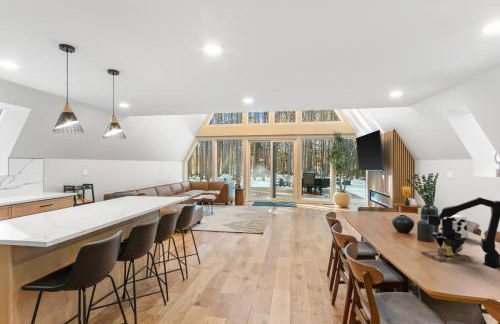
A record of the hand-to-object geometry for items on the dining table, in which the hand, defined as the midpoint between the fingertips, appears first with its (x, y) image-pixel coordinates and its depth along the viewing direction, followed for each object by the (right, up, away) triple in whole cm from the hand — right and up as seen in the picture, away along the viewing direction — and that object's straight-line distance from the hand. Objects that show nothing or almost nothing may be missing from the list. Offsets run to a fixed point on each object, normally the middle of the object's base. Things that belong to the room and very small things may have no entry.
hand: (447, 251), depth 170 cm
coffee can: (+14, -1, +13) cm, 19 cm away
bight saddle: (0, -2, 0) cm, 2 cm away
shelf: (0, -5, +3) cm, 6 cm away
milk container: (+44, -6, +50) cm, 67 cm away
